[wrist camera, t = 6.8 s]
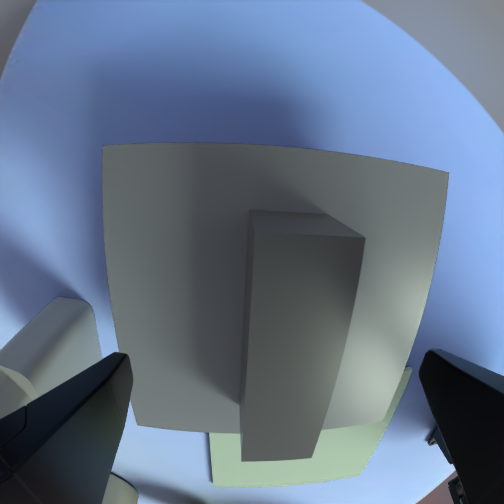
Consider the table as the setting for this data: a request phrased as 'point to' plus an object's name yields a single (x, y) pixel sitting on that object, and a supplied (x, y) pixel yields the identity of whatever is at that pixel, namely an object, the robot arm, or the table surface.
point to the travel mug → (119, 492)
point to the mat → (304, 470)
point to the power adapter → (47, 352)
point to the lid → (266, 285)
